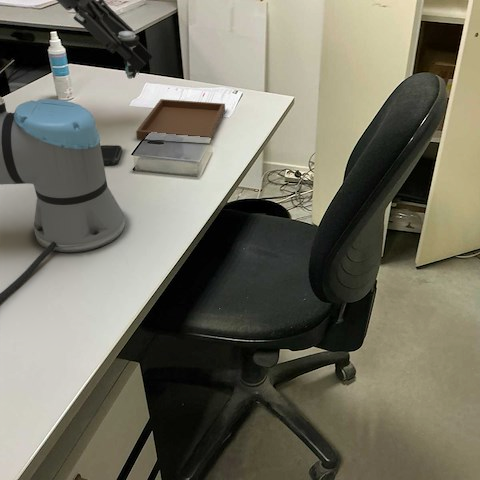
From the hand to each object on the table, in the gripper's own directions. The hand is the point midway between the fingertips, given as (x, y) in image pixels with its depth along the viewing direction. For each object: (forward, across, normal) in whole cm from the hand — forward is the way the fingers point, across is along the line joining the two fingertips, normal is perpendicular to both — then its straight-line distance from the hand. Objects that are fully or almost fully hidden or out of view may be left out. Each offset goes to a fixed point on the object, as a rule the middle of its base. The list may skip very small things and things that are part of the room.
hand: (145, 63), depth 134 cm
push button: (0, 0, +5) cm, 5 cm away
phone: (+5, -22, +17) cm, 28 cm away
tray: (+16, 0, +5) cm, 17 cm away
